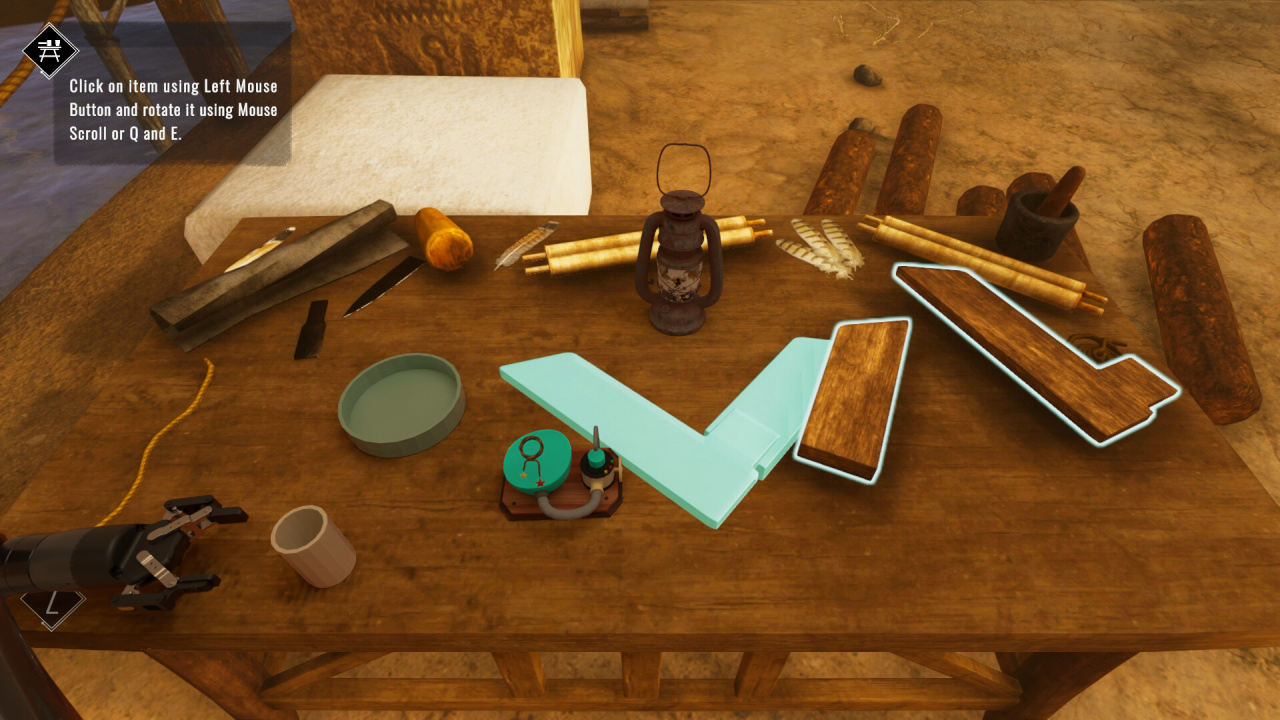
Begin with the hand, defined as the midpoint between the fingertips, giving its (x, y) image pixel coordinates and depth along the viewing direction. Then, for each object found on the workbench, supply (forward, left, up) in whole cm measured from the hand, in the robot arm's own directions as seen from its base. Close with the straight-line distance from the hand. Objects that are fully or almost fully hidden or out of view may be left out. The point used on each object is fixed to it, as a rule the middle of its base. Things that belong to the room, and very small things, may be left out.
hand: (231, 546), depth 71 cm
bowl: (+26, -14, -7) cm, 31 cm away
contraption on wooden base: (+8, -40, -7) cm, 42 cm away
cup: (0, -9, -7) cm, 12 cm away
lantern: (+45, -62, -7) cm, 78 cm away
